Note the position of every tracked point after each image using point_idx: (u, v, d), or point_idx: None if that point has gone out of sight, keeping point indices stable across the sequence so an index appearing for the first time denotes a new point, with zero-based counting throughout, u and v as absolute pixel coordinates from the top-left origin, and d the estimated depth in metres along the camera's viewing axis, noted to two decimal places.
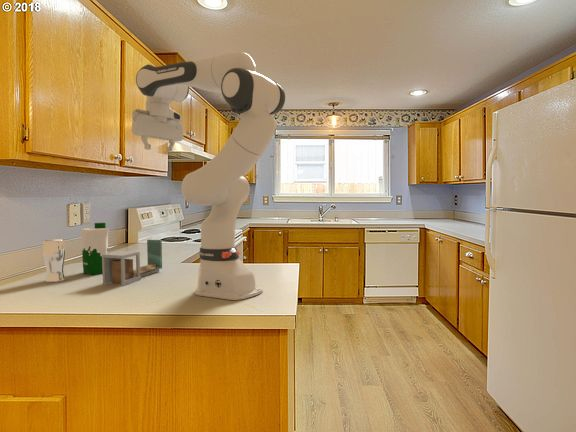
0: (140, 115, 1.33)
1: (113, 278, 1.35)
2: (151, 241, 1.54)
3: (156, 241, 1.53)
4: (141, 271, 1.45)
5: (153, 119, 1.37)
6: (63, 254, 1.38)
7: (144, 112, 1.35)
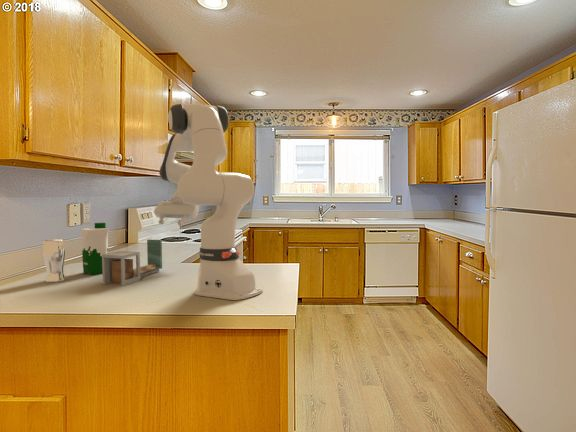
0: None
1: (113, 278, 1.35)
2: (151, 241, 1.54)
3: (156, 241, 1.53)
4: (141, 271, 1.45)
5: (171, 202, 1.72)
6: (63, 254, 1.38)
7: None
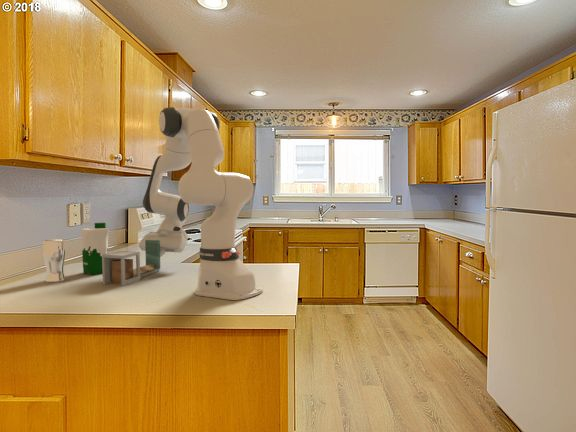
0: (147, 234, 1.63)
1: (113, 278, 1.35)
2: (149, 241, 1.53)
3: (154, 241, 1.52)
4: None
5: (156, 235, 1.61)
6: (63, 254, 1.38)
7: (154, 233, 1.64)
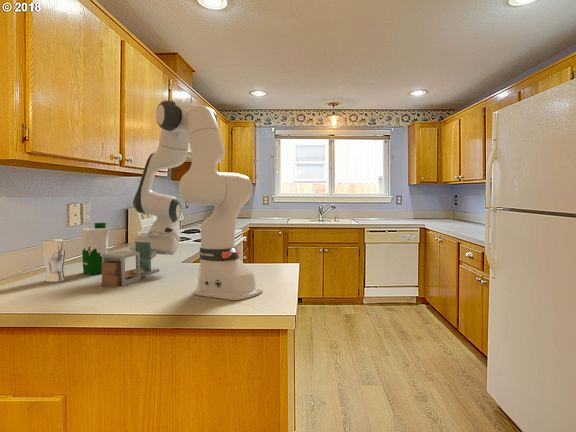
0: (138, 235, 1.57)
1: (103, 281, 1.30)
2: (139, 243, 1.47)
3: (145, 243, 1.46)
4: (128, 275, 1.38)
5: (147, 236, 1.55)
6: (63, 254, 1.38)
7: (146, 234, 1.59)
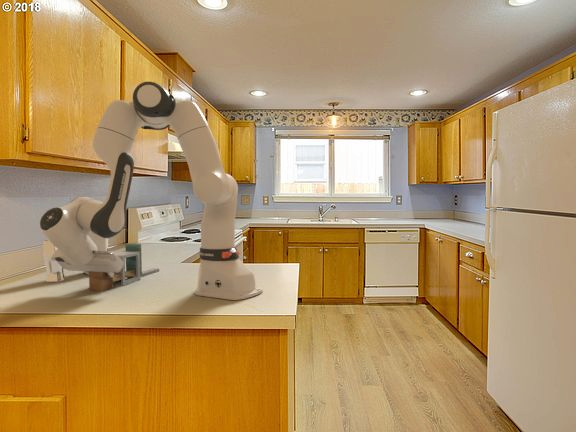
0: None
1: (90, 285, 1.25)
2: (130, 245, 1.42)
3: (135, 245, 1.41)
4: (117, 278, 1.33)
5: None
6: None
7: None
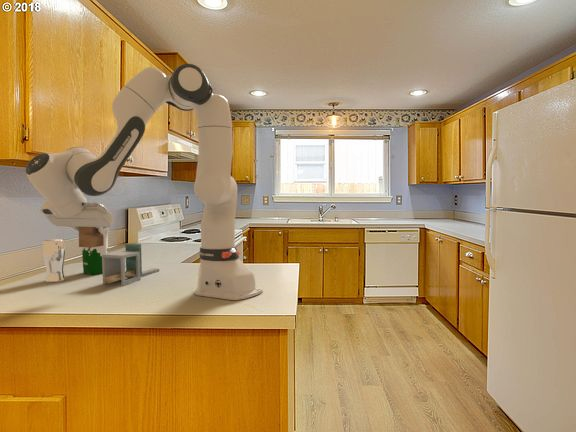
0: None
1: (80, 241, 1.20)
2: (130, 245, 1.42)
3: (135, 245, 1.41)
4: (117, 278, 1.33)
5: None
6: (63, 254, 1.38)
7: None
